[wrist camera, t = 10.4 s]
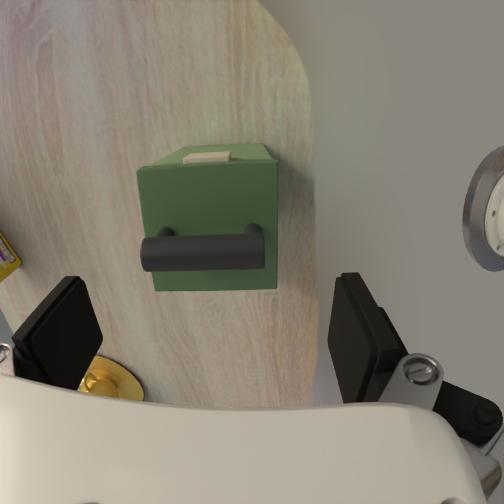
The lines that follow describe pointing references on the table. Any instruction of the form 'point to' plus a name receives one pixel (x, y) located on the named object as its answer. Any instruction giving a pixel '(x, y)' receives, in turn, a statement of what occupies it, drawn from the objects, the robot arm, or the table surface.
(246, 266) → the lunchbox
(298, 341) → the table surface
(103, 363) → the cup
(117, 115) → the table surface
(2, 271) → the candy box
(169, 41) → the table surface
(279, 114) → the table surface
